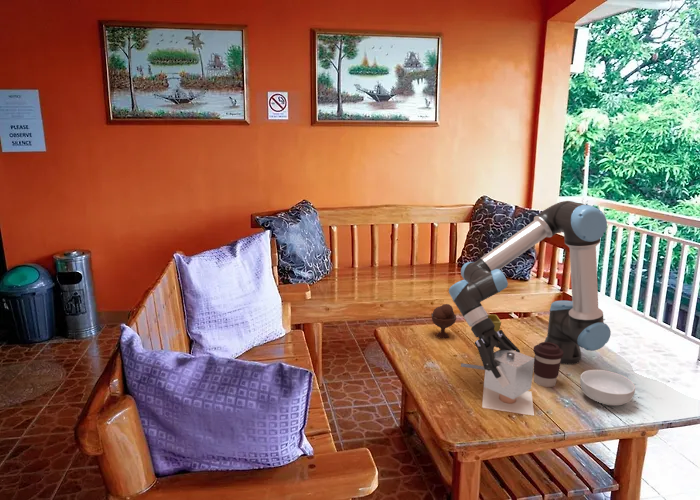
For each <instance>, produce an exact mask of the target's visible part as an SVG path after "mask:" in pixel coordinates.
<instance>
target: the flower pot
mask: <svg viewBox="0 0 700 500" xmlns="http://www.w3.org/2000/svg"><path fill="white" fill-rule="evenodd" d="M488 318H490V319H491V320H492V322H493V323H494V325H495V328H494V330H495V331H496V332H498V331H499V330H501V325H502V321H501V319H500V318H499V316H498V315H497V314H488Z"/></svg>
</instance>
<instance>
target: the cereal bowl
mask: <svg viewBox="0 0 700 500" xmlns="http://www.w3.org/2000/svg"><path fill="white" fill-rule="evenodd" d="M579 383H580V388H581V391H582V392H583V393H584V395H586V396H587V397H588V398H589V399H591V400H592V401H595V402H596V401H597V402H596V403H598V402H599V403H598V404H601V403H603V404H602V405H604V404H607V405H606V406H621V405H624V404H627V403H629V402H630V401H631V400H632V399H633V398H634V395H635V393H636V386H635V383H634V382H633V381H632V380H631V379H629V378H628V377H626V376H624V375H622V374H621V373H617V372H614V371H609V370H606V369H605V370H604V369H587V370H585V371H583V372H582V373H581V374H580V375H579Z"/></svg>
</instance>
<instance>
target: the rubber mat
mask: <svg viewBox="0 0 700 500" xmlns="http://www.w3.org/2000/svg"><path fill="white" fill-rule="evenodd" d="M460 367H461V368H469V369H476V370H483V371H485V369H484V366H483V365H479V364H478V365H477V364H469V363H463V362H462V363H460Z"/></svg>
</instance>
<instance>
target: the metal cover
mask: <svg viewBox="0 0 700 500" xmlns="http://www.w3.org/2000/svg"><path fill="white" fill-rule="evenodd" d="M494 355H495V358H494V360H495V362H496V367H497V366H499V368H500V369H501V371H502V372H503V374H504V376H505V377H506V379H507V380H508V382H509V385H508V386H506V387H504V388H502V386H501V384H500V383H499V381H498V380H497V379H496V377H495V376H494V374H493V373H492V371H491V370H490V371H488V370H484V381H483V388H484V387H486V388H488V389H491V390H493V391H495V392H497V393H500V394H502V395H504V396H506V397H509V398H511V399H515V398H517V397H518V396H520V395H521V394H523V393H525V392H526V391H530V390H531V389H532V383H533V376H534V357H532V356H530V355H527V354H524V353H521V352H520V353H519V352H516V350H515V351H514V350H505V349H498V350H496V351H494ZM487 365H488V364H487Z"/></svg>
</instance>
